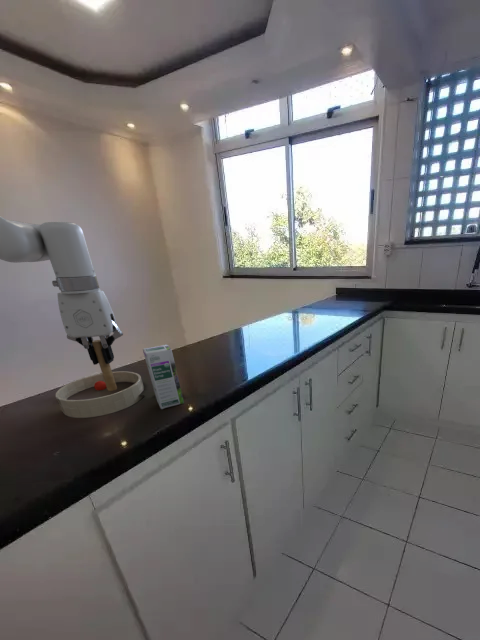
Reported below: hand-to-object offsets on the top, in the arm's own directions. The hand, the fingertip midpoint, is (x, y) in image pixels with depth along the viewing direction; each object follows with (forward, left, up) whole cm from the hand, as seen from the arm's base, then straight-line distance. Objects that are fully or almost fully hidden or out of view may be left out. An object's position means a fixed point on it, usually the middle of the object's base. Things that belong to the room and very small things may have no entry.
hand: (103, 361), depth 78 cm
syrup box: (+15, -5, -11) cm, 19 cm away
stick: (0, 0, -8) cm, 8 cm away
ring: (-3, 0, -11) cm, 11 cm away
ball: (-6, +5, -8) cm, 11 cm away
